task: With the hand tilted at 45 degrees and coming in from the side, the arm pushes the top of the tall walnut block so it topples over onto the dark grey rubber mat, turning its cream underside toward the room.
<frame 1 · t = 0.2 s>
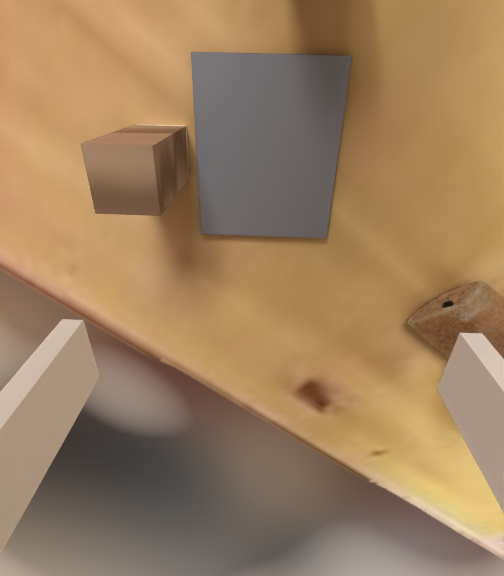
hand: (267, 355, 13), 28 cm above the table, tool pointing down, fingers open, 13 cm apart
mat: (266, 154, 36), on the table
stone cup: (475, 316, 45), on the table
walnut block: (164, 151, 36), on the table
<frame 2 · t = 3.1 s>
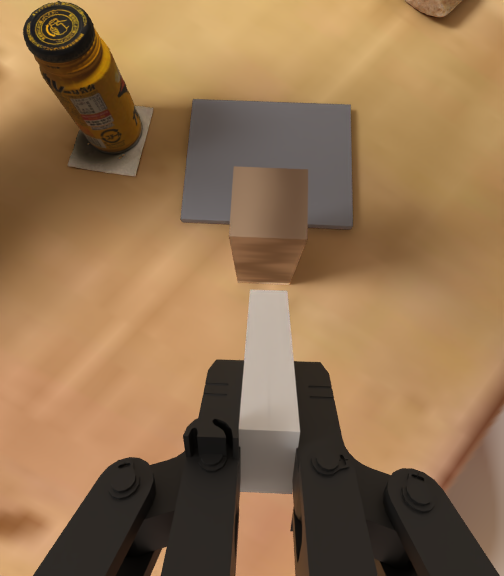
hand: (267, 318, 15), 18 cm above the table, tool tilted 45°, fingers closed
mat: (268, 164, 37), on the table
walnut block: (264, 259, 35), on the table
condiment: (113, 139, 38), on the table
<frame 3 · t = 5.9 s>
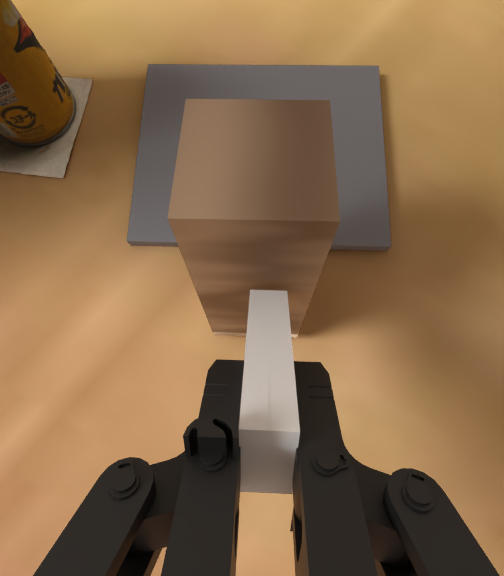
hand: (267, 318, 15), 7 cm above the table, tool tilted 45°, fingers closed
mat: (260, 155, 25), on the table
walnut block: (256, 297, 22), on the table, tilted 10°
condiment: (34, 125, 26), on the table
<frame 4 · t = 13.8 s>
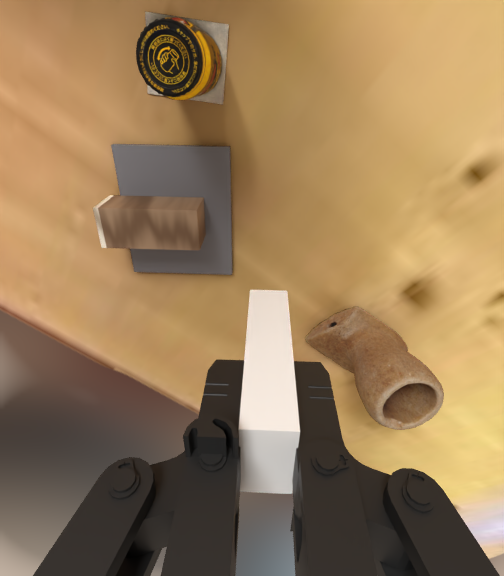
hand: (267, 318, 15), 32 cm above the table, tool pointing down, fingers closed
mat: (178, 213, 46), on the table
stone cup: (362, 333, 56), on the table
walnut block: (105, 220, 44), point 3 cm above the table, tilted 90°, touching mat
condiment: (187, 60, 38), on the table
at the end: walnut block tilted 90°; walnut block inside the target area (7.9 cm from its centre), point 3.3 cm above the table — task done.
